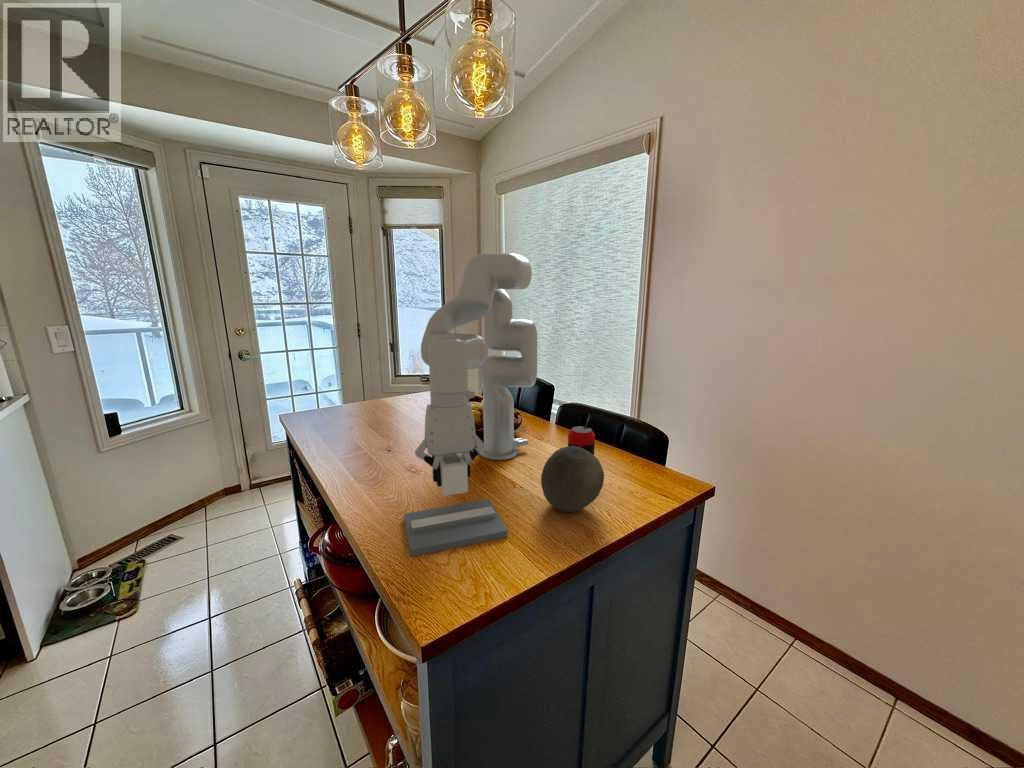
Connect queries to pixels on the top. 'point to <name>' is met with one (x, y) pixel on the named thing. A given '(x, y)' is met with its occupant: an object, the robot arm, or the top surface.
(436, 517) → the steel rail
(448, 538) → the board
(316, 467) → the top surface
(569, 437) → the soda can
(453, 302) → the robot arm
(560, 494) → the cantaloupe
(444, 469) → the module
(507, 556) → the top surface
